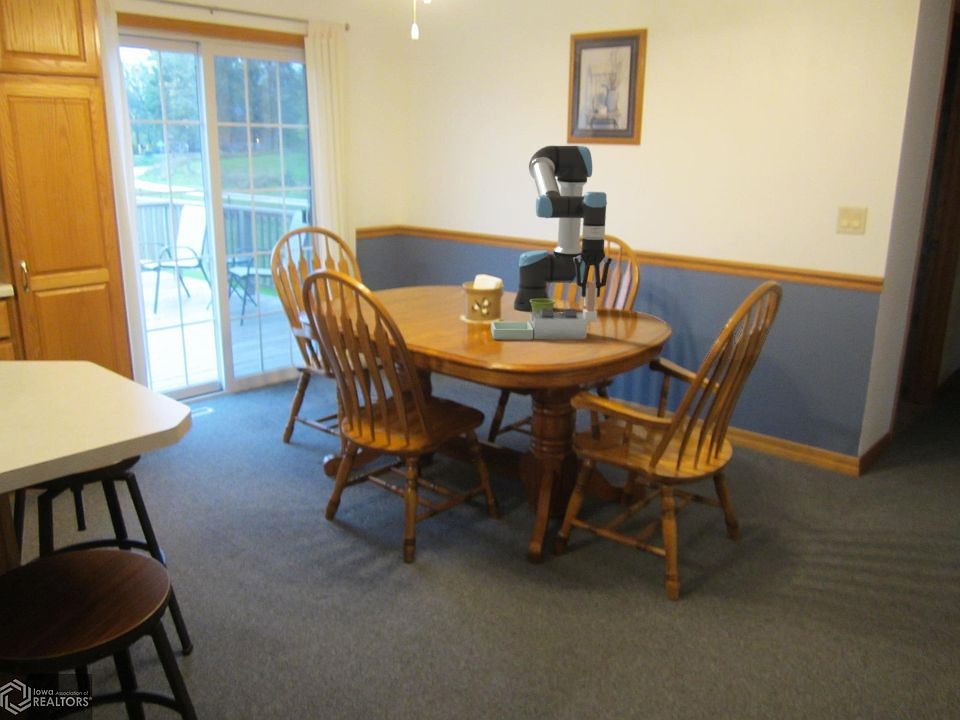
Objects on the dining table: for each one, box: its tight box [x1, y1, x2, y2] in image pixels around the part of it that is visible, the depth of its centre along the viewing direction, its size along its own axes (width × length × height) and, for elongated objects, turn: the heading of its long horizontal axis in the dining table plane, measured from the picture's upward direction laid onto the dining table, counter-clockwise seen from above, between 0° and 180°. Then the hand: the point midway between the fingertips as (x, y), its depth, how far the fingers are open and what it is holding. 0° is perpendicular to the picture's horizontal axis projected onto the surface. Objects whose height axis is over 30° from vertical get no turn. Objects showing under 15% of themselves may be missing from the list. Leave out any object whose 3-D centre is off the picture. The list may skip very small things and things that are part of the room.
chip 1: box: [541, 308, 555, 317], centre depth 278 cm, size 4×4×4 cm
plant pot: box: [530, 298, 556, 312], centre depth 298 cm, size 9×9×9 cm
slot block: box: [529, 311, 588, 340], centre depth 279 cm, size 12×18×7 cm, turn 93°
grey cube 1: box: [562, 308, 578, 318], centre depth 279 cm, size 4×4×4 cm
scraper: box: [582, 280, 598, 323], centre depth 278 cm, size 5×4×14 cm
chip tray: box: [490, 321, 534, 341], centre depth 279 cm, size 13×14×4 cm
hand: (590, 306), depth 278 cm, fingers closed on scraper, 2 cm apart
